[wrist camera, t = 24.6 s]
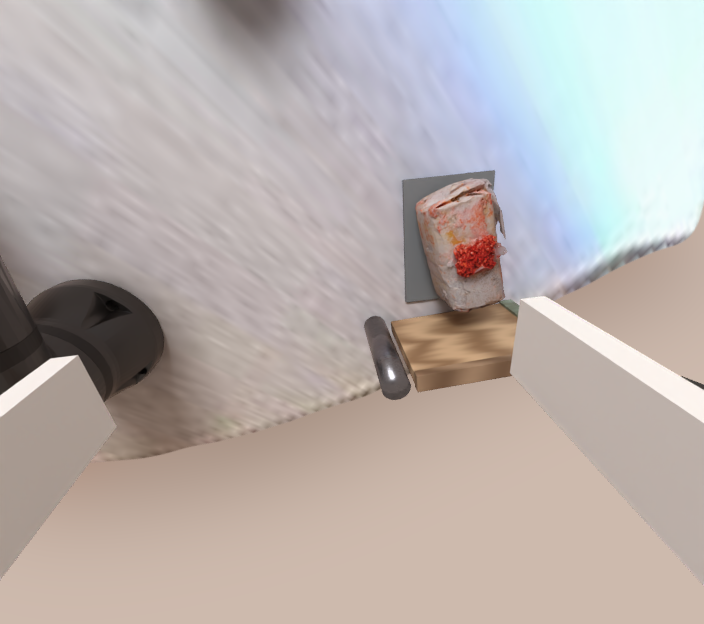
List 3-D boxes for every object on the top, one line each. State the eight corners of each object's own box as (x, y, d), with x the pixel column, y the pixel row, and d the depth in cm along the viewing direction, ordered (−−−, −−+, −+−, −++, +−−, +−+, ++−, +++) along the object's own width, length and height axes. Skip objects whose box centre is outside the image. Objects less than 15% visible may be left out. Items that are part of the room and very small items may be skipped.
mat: (405, 301, 45) (406, 302, 44) (402, 180, 38) (403, 180, 38) (482, 291, 45) (484, 292, 45) (493, 170, 38) (495, 170, 38)
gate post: (365, 336, 46) (382, 401, 34) (363, 317, 45) (381, 378, 32) (385, 333, 46) (410, 397, 34) (384, 314, 45) (410, 374, 32)
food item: (403, 197, 38) (429, 207, 29) (467, 172, 38) (513, 175, 29) (430, 295, 44) (459, 329, 35) (486, 275, 44) (529, 304, 35)
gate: (392, 333, 45) (417, 392, 34) (390, 319, 44) (416, 375, 33) (509, 313, 46) (575, 365, 34) (510, 299, 45) (578, 347, 33)
